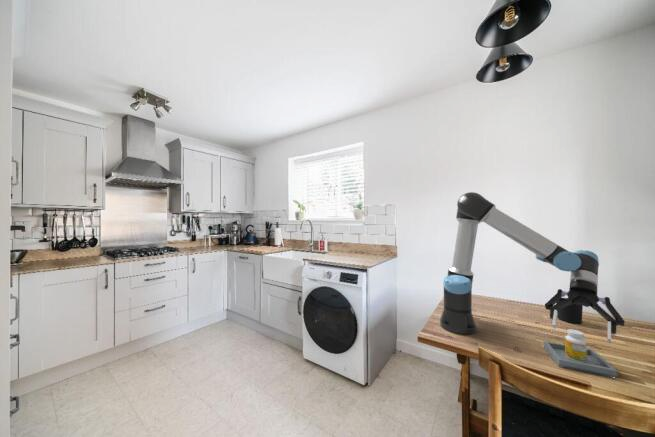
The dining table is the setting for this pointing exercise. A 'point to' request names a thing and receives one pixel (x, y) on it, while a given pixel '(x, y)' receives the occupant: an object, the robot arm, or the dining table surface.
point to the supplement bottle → (576, 346)
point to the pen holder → (570, 313)
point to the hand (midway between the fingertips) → (579, 333)
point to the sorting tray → (592, 365)
